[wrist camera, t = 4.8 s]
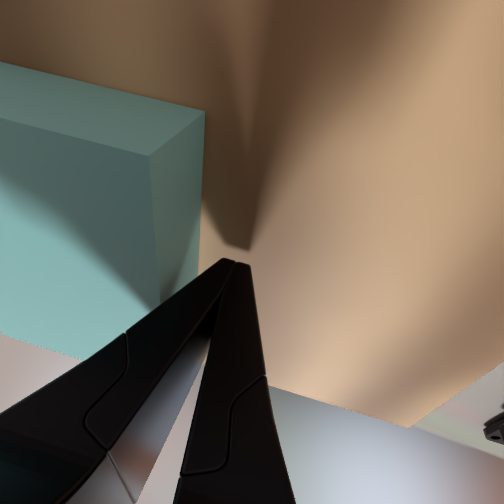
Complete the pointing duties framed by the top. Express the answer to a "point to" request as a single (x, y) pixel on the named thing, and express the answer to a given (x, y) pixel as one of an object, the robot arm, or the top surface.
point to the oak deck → (327, 172)
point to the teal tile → (92, 208)
